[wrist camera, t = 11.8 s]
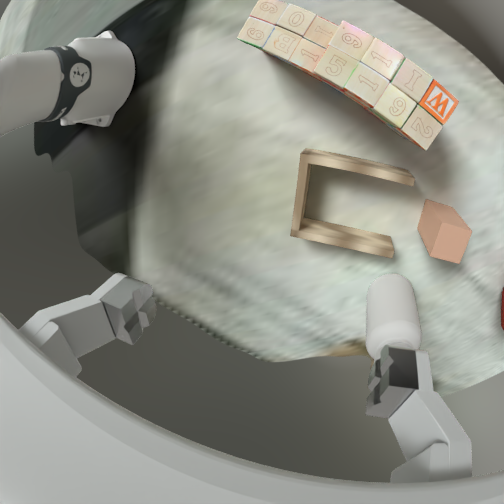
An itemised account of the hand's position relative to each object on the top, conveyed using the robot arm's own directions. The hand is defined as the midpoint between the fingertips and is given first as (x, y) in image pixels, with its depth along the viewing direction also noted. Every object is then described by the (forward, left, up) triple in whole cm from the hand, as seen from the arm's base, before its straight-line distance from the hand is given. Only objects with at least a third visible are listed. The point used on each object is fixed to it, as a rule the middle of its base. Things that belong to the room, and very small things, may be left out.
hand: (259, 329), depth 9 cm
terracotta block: (+17, -5, -31) cm, 36 cm away
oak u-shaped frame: (+4, -5, -31) cm, 32 cm away
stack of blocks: (+1, +12, -32) cm, 34 cm away
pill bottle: (+14, -19, -31) cm, 39 cm away
